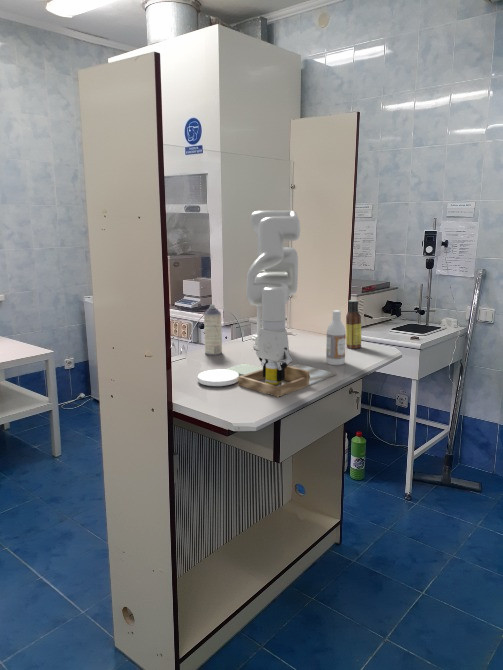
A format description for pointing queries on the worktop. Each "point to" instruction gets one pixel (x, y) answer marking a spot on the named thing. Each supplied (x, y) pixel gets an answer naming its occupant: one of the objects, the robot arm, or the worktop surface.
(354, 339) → the sauce bottle
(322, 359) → the worktop surface
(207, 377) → the plastic lid
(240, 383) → the frame
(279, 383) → the supplement bottle
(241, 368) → the tray
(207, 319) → the aerosol can
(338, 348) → the bath foam
